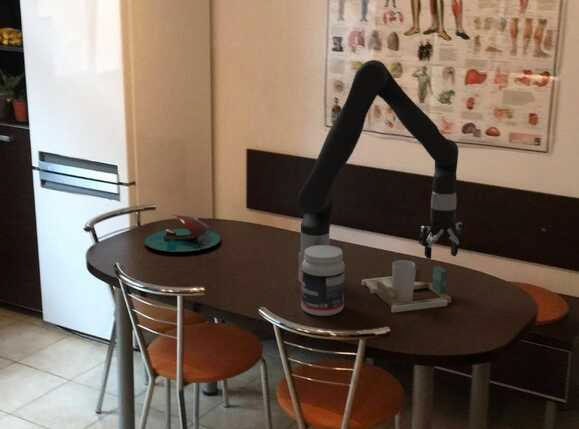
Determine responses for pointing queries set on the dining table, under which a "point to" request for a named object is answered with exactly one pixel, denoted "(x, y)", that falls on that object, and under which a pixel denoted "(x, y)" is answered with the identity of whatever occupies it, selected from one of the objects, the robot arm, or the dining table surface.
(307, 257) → the supplement tub
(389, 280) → the plain strip
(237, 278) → the dining table surface
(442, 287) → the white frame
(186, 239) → the boat on round base
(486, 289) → the dining table surface
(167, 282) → the dining table surface
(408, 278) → the mug
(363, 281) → the lane rails
